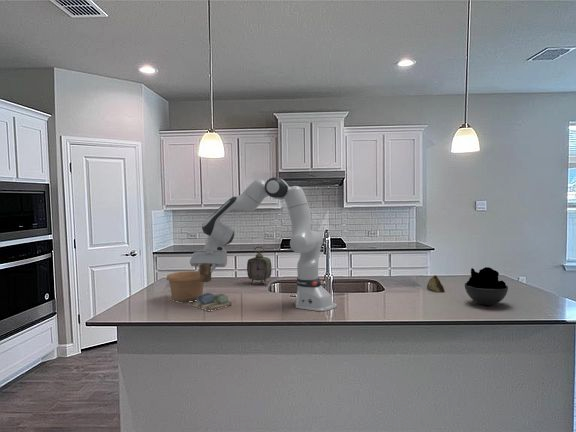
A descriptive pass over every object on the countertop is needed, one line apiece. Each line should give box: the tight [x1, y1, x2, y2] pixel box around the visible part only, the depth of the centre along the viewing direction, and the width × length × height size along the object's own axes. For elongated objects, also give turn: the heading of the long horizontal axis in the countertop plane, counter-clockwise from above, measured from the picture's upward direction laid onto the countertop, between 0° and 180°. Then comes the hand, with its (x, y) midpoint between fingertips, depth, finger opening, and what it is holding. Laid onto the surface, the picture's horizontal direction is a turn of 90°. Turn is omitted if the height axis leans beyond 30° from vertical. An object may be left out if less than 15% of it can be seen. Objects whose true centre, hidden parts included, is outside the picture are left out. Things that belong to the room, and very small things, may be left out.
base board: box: [191, 292, 233, 312], centre depth 215 cm, size 16×14×6 cm
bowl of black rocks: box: [464, 266, 509, 306], centre depth 206 cm, size 20×20×19 cm
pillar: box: [200, 264, 212, 283], centre depth 214 cm, size 4×4×9 cm
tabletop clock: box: [246, 246, 273, 286], centre depth 265 cm, size 14×9×25 cm, turn 67°
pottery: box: [166, 270, 205, 302], centre depth 230 cm, size 22×22×14 cm
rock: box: [426, 274, 446, 293], centre depth 238 cm, size 11×9×10 cm
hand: (205, 272), depth 213 cm, fingers closed on pillar, 4 cm apart
